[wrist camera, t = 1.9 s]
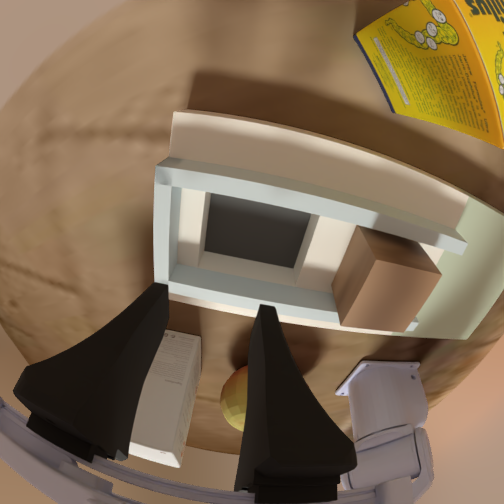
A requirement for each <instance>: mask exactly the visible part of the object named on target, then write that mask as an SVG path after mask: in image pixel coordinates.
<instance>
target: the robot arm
mask: <svg viewBox="0 0 504 504" xmlns="http://www.w3.org/2000/svg"><path fill="white" fill-rule="evenodd" d="M168 320H169V286H168V285H167V284H163V283H158V282H154V283H153V284H152V285H151V286H150V287H149V288H147V289H146V290H145V291H144V292H143V293H142V294H141V295H140V296H139V297H138V298H137V299H136V300H135V301H134V302H133V303H131V304H130V305H129V306H128V307H127V308H126V309H125V310H124V311H122V312H121V313H120V314H119V315H118V316H116V317H115V318H114V319H113V320H111V321H110V322H109V323H108V324H106V325H105V326H104V327H102V328H101V329H100V330H98V331H97V332H95V333H94V334H93V335H91V336H90V337H88V338H86V339H85V340H83V341H81V342H80V343H78V344H77V345H75V346H73V347H71V348H69V349H67V350H65V351H63V352H61V353H59V354H57V355H55V356H53V357H51V358H49V359H46V360H43V361H41V362H38V363H35V364H32V365H30V366H27V367H26V368H25V369H24V371H23V372H22V374H21V376H20V378H19V380H18V382H17V384H16V385H15V387H14V389H13V392H14V395H15V396H16V397H17V398H18V399H19V400H20V402H22V403H23V404H24V405H25V406H26V407H27V408H28V409H29V410H30V411H31V412H32V413H31V415H30V417H29V418H27V417H26V416H24V415H23V414H21V413H20V412H19V411H17V410H15V409H14V408H13V407H12V406H10V405H9V404H7V403H6V402H5V401H4V400H3V399H2V398H1V397H0V458H1V459H2V460H3V461H4V462H5V463H7V464H8V465H9V466H10V467H11V468H12V469H13V470H14V471H16V472H17V473H18V474H19V475H20V476H22V477H23V478H24V479H25V480H26V481H28V482H29V483H30V484H32V485H33V486H34V487H35V488H37V489H38V490H40V491H41V492H42V493H44V494H45V495H47V496H48V497H49V498H51V499H52V500H54V501H55V502H57V503H58V504H145V503H142V502H139V501H135V500H132V499H129V498H126V497H124V496H120V495H118V494H115V493H112V487H113V483H111V482H109V481H106V480H104V479H102V478H100V477H98V476H96V475H93V474H91V473H89V472H87V471H85V470H83V469H81V468H79V467H78V465H77V463H76V461H77V462H80V463H82V464H84V465H86V466H88V467H90V468H92V469H94V470H97V471H99V472H101V473H104V474H106V475H108V476H111V477H114V478H116V479H119V480H121V481H124V482H127V483H130V484H133V485H136V486H139V487H142V488H145V489H149V490H152V491H155V492H159V493H163V494H167V495H170V496H175V497H179V498H184V499H188V500H194V501H199V502H205V503H211V504H414V503H415V502H416V501H417V500H418V499H419V498H420V497H421V496H422V495H423V494H424V493H425V492H426V491H427V490H428V489H429V488H430V486H431V485H432V481H433V479H434V473H433V459H432V452H431V447H430V443H429V439H428V436H427V432H426V430H425V429H423V428H421V427H422V426H423V425H424V423H425V421H426V419H427V415H428V403H427V399H426V396H425V393H424V389H423V386H422V383H421V380H420V377H419V374H418V371H417V368H418V367H419V366H420V363H419V362H385V361H362V362H360V363H359V365H358V366H357V367H356V368H355V369H354V371H353V372H352V373H351V374H350V375H349V377H348V378H347V379H346V380H345V381H344V382H343V384H342V385H341V386H340V387H339V388H338V389H337V390H336V391H335V394H336V395H348V397H349V404H350V411H351V419H352V427H353V436H354V443H353V442H352V441H351V440H350V439H349V438H348V437H347V436H346V435H345V434H344V433H343V432H342V431H341V430H340V428H339V427H338V426H337V425H336V424H335V423H334V422H333V420H332V419H331V418H330V417H329V416H328V414H327V413H326V412H325V410H324V409H323V408H322V406H321V405H320V403H319V402H318V401H317V399H316V398H315V396H314V395H313V393H312V392H311V390H310V389H309V387H308V385H307V384H306V382H305V380H304V378H303V377H302V375H301V373H300V371H299V369H298V367H297V365H296V363H295V361H294V358H293V356H292V354H291V352H290V349H289V347H288V344H287V342H286V339H285V337H284V334H283V331H282V328H281V325H280V322H279V318H278V314H277V310H276V308H275V307H274V306H270V305H264V304H260V306H259V309H258V312H257V316H256V319H255V322H254V326H253V329H252V332H251V337H250V344H249V352H248V379H247V408H246V416H245V423H244V430H243V437H242V444H241V451H240V457H239V464H238V469H237V475H236V480H235V485H234V491H225V490H218V489H211V488H205V487H199V486H194V485H189V484H185V483H180V482H176V481H171V480H168V479H164V478H160V477H156V476H153V475H150V474H146V473H143V472H140V471H136V470H134V469H130V468H128V467H125V466H122V465H120V464H117V463H114V462H112V461H109V460H107V458H109V459H112V460H115V459H116V460H119V461H123V460H126V459H127V458H128V453H129V446H130V440H131V434H132V429H133V424H134V420H135V415H136V411H137V407H138V403H139V399H140V395H141V392H142V388H143V385H144V382H145V379H146V376H147V374H148V372H149V369H150V367H151V364H152V362H153V360H154V357H155V355H156V353H157V350H158V348H159V346H160V344H161V341H162V339H163V336H164V333H165V330H166V326H167V323H168ZM340 476H341V482H342V485H343V487H344V489H345V491H337V484H339V483H340ZM417 477H418V478H417ZM414 478H417V480H416V481H415V482H413V483H412V482H411V479H414Z"/></svg>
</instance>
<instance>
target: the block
mask: <svg viewBox="0 0 504 504" xmlns="http://www.w3.org/2000/svg"><path fill="white" fill-rule="evenodd" d="M441 276H442V274H441V272H440V271H439V269H438V268H437V267H436V265H435V264H434V262H433V261H432V260H431V258H430V257H429V256H428V254H427V253H426V252H425V250H424V249H423V248H422V246H421V245H420V244H419V243H418V242H417V241H414V240H410V239H407V238H404V237H400V236H397V235H393V234H389V233H386V232H382V231H379V230H375V229H371V228H367V227H364V226H360V225H356V227H355V230H354V232H353V235H352V237H351V240H350V242H349V245H348V247H347V249H346V252H345V254H344V257H343V259H342V261H341V264H340V266H339V268H338V270H337V273H336V275H335V277H334V279H333V282H332V284H331V287H332V291H333V295H334V299H335V304H336V308H337V312H338V317H339V322H340V326H344V327H352V328H361V329H370V330H380V331H390V332H401V333H404V332H405V330H406V329H407V328H408V326H409V325H410V323H411V322H412V321H413V319H414V318H415V317H416V315H417V314H418V312H419V311H420V309H421V308H422V306H423V305H424V303H425V302H426V300H427V299H428V297H429V296H430V294H431V293H432V291H433V290H434V288H435V286H436V285H437V283H438V281H439V280H440V278H441Z"/></svg>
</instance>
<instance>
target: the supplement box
mask: <svg viewBox="0 0 504 504" xmlns="http://www.w3.org/2000/svg"><path fill="white" fill-rule="evenodd" d="M353 38H354V40H355V42H356V43H357V44H358V46H359V48H360V50H361V51H362V53H363V54H364V56H365V58H366V60H367V62H368V64H369V65H370V67H371V69H372V71H373V73H374V75H375V77H376V79H377V81H378V83H379V85H380V87H381V89H382V91H383V93H384V96H385V98H386V100H387V102H388V104H389V106H390V108H391V111H392V112H393V113H397V114H401V115H405V116H410V117H413V118H417V119H421V120H424V121H428V122H432V123H435V124H438V125H442V126H445V127H448V128H451V129H453V130H457V131H459V132H462V133H465V134H467V135H470V136H473V137H475V138H478V139H480V140H483V141H485V142H487V143H490V144H492V145H495V146H497V147H499V148H501V149H503V150H504V0H409V1H408V2H406V3H404V4H402V5H401V6H399V7H397V8H395V9H394V10H392V11H390V12H388V13H387V14H385V15H384V16H382V17H380V18H379V19H377V20H375V21H374V22H372V23H371V24H369V25H368V26H366V27H365V28H363V29H362V30H360V31H359V32H357V33H356V34H355V35H354V36H353Z"/></svg>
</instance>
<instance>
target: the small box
mask: <svg viewBox="0 0 504 504" xmlns="http://www.w3.org/2000/svg"><path fill="white" fill-rule="evenodd" d="M200 376H201V337H199V336H195V335H190V334H185V333H181V332H176V331H171V330H165V333H164V336H163V339H162V341H161V344H160V346H159V348H158V350H157V353H156V355H155V357H154V360H153V362H152V364H151V367H150V369H149V372H148V374H147V376H146V379H145V382H144V385H143V388H142V392H141V395H140V399H139V403H138V407H137V411H136V415H135V420H134V424H133V429H132V434H131V440H130V446H129V453H130V454H132V455H135V456H138V457H142V458H144V459H148V460H151V461H155V462H158V463H161V464H165V465H169V466H173V467H177V468H180V466H181V462H182V457H183V452H184V448H185V443H186V438H187V434H188V429H189V425H190V420H191V416H192V411H193V406H194V402H195V398H196V393H197V389H198V385H199V381H200Z"/></svg>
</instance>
